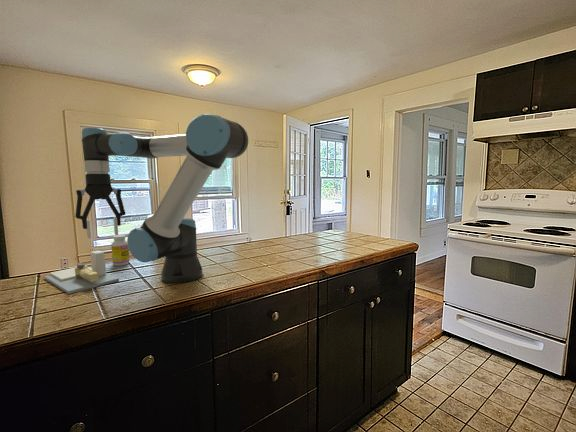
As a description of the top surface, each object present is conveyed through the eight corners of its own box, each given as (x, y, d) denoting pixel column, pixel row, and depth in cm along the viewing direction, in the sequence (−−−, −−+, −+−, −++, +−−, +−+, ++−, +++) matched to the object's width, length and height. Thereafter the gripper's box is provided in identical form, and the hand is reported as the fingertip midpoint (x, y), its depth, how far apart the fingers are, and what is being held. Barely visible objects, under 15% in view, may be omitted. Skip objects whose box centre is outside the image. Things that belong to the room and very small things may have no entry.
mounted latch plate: (119, 280, 112) (117, 254, 111) (68, 294, 99) (65, 264, 98) (90, 268, 128) (88, 245, 127) (44, 278, 115) (41, 253, 114)
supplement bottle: (122, 266, 131) (120, 237, 129) (109, 265, 132) (106, 237, 130) (133, 262, 137) (131, 234, 136) (120, 261, 139) (118, 234, 137)
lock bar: (73, 275, 112) (73, 268, 112) (85, 272, 116) (85, 265, 115) (88, 282, 104) (87, 275, 104) (101, 279, 107) (100, 272, 107)
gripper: (127, 173, 116) (131, 231, 119) (60, 173, 103) (67, 238, 106) (132, 173, 110) (136, 234, 113) (62, 172, 97) (68, 241, 100)
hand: (103, 236), depth 109 cm, fingers open, 8 cm apart
